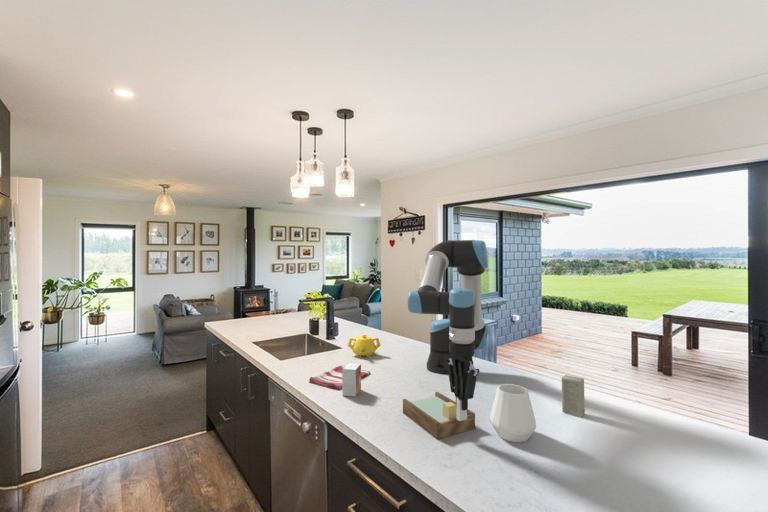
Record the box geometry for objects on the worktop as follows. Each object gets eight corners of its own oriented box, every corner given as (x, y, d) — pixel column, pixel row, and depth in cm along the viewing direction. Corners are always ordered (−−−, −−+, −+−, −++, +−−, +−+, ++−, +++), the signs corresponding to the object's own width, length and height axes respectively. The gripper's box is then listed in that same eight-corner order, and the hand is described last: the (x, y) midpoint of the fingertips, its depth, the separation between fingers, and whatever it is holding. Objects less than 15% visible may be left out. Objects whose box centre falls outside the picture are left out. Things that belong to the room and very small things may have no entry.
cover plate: (436, 398, 130) (436, 385, 130) (469, 418, 114) (469, 403, 114) (407, 404, 124) (407, 391, 124) (438, 426, 108) (438, 410, 108)
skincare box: (585, 413, 124) (585, 378, 124) (581, 418, 121) (581, 381, 121) (565, 408, 128) (565, 374, 128) (561, 412, 125) (561, 377, 125)
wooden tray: (437, 404, 131) (437, 391, 131) (475, 428, 114) (475, 413, 114) (402, 413, 125) (402, 399, 125) (437, 439, 107) (437, 423, 107)
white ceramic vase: (531, 451, 101) (532, 401, 101) (484, 437, 108) (484, 391, 108) (539, 430, 112) (539, 386, 112) (496, 420, 119) (496, 378, 119)
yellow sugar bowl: (380, 360, 186) (380, 339, 185) (345, 360, 186) (345, 339, 186) (381, 350, 205) (381, 330, 205) (349, 350, 206) (349, 330, 206)
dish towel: (307, 383, 154) (307, 377, 154) (342, 369, 174) (342, 363, 174) (338, 392, 145) (338, 385, 145) (371, 375, 165) (371, 369, 165)
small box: (355, 397, 138) (355, 369, 138) (342, 396, 139) (341, 369, 139) (361, 389, 146) (361, 363, 146) (348, 388, 147) (348, 362, 147)
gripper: (438, 337, 112) (438, 413, 112) (466, 347, 101) (466, 431, 101) (457, 335, 116) (457, 408, 116) (486, 344, 104) (486, 425, 104)
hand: (461, 419), depth 108 cm, fingers closed
